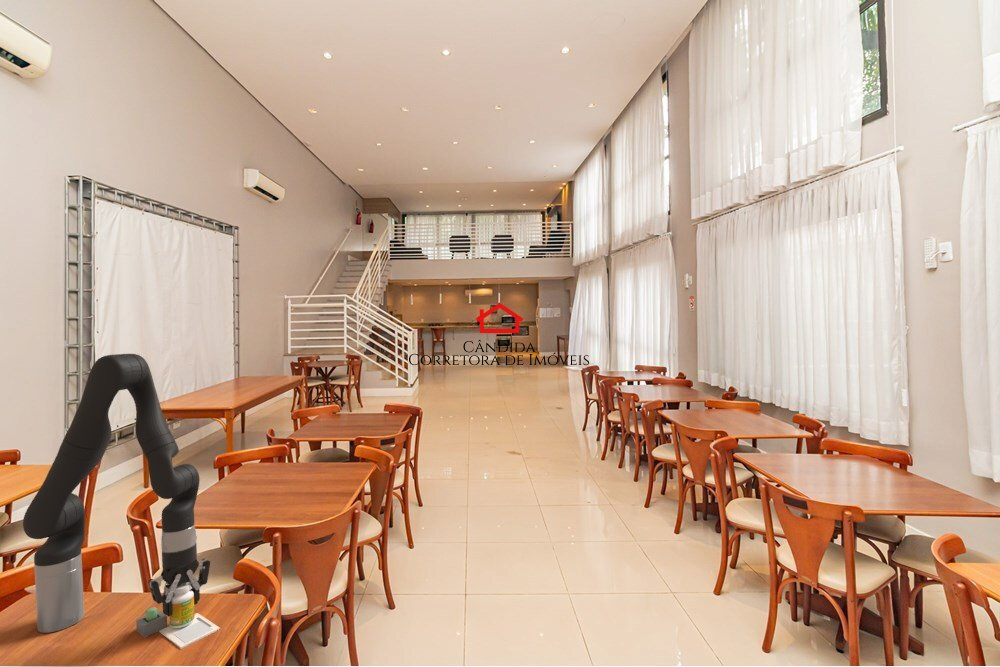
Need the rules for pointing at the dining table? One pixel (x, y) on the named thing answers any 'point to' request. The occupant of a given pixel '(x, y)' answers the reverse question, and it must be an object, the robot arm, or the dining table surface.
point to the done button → (151, 614)
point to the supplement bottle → (182, 606)
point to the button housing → (151, 624)
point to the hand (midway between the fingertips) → (181, 608)
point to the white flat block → (190, 631)
